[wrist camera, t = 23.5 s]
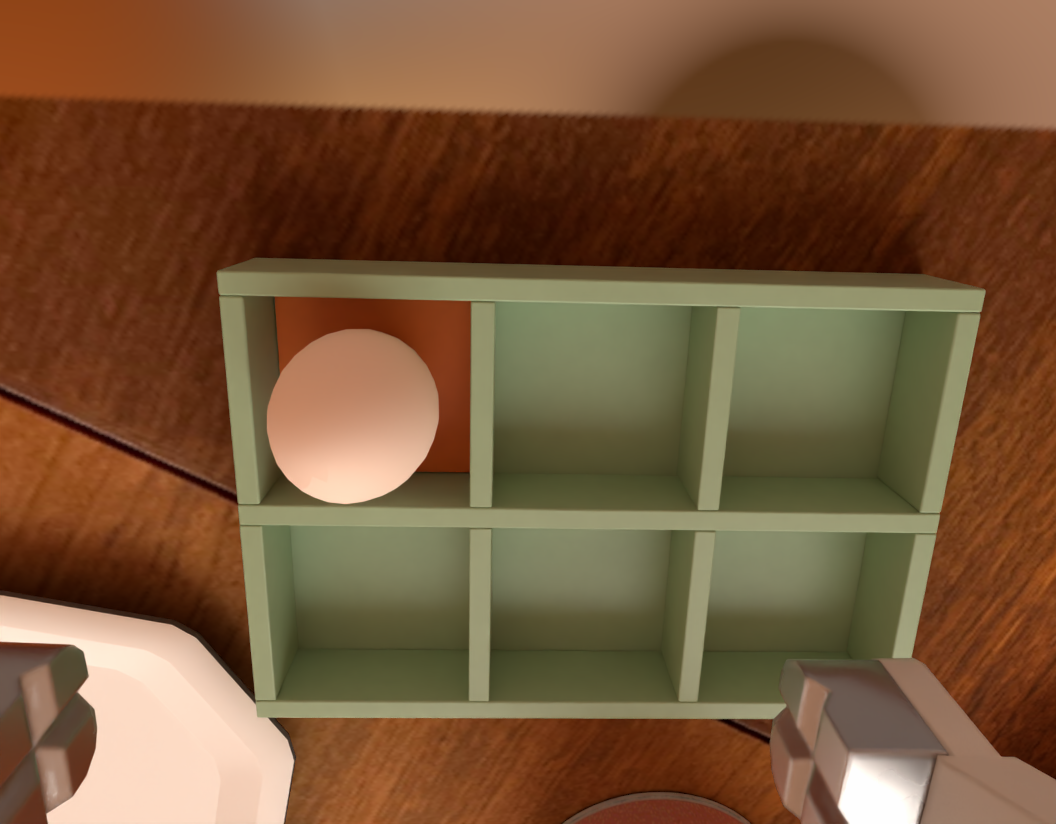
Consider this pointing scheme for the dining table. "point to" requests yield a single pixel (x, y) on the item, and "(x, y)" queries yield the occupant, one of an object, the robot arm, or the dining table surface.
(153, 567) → the dining table surface
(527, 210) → the dining table surface
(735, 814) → the canned food
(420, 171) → the dining table surface
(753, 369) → the carton
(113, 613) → the plate
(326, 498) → the egg
